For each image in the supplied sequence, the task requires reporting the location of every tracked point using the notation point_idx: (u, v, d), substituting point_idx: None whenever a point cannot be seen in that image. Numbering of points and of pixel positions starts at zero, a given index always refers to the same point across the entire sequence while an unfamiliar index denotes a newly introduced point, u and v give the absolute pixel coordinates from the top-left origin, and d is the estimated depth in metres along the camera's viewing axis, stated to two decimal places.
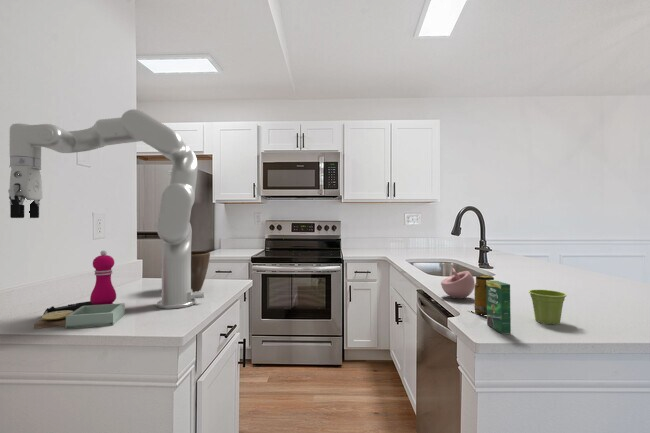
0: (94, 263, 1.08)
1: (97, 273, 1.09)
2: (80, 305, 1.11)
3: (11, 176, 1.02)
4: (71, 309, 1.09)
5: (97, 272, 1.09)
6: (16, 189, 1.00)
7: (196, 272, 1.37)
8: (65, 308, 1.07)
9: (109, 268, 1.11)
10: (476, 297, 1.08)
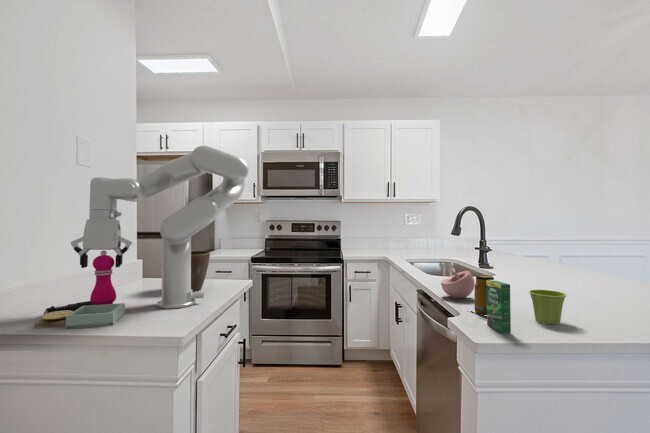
0: (94, 263, 1.08)
1: (97, 273, 1.09)
2: (80, 305, 1.11)
3: (117, 229, 1.11)
4: (71, 309, 1.09)
5: (97, 272, 1.09)
6: None
7: (196, 272, 1.37)
8: (65, 308, 1.08)
9: (109, 268, 1.11)
10: (476, 297, 1.08)
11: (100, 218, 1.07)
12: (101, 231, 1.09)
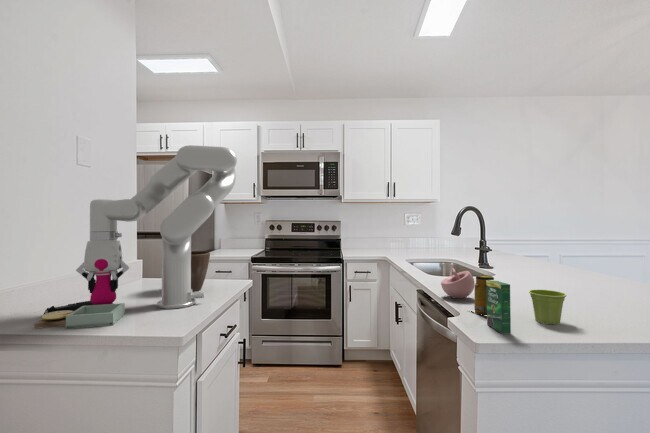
0: None
1: (97, 273, 1.09)
2: (80, 304, 1.11)
3: (117, 250, 1.11)
4: (71, 308, 1.09)
5: (97, 272, 1.09)
6: None
7: (196, 272, 1.37)
8: (65, 308, 1.08)
9: None
10: (476, 297, 1.08)
11: (101, 240, 1.08)
12: (102, 253, 1.09)
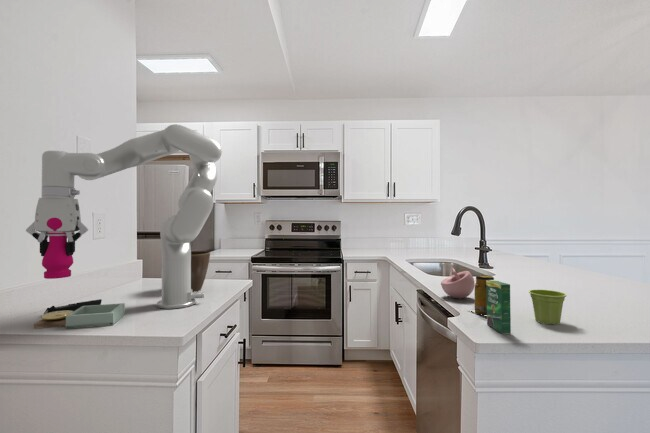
0: None
1: (50, 233, 0.96)
2: (80, 305, 1.11)
3: (74, 209, 0.98)
4: (71, 309, 1.09)
5: (50, 232, 0.96)
6: None
7: (196, 272, 1.37)
8: (65, 307, 1.08)
9: None
10: (476, 297, 1.08)
11: (53, 196, 0.95)
12: (55, 211, 0.96)
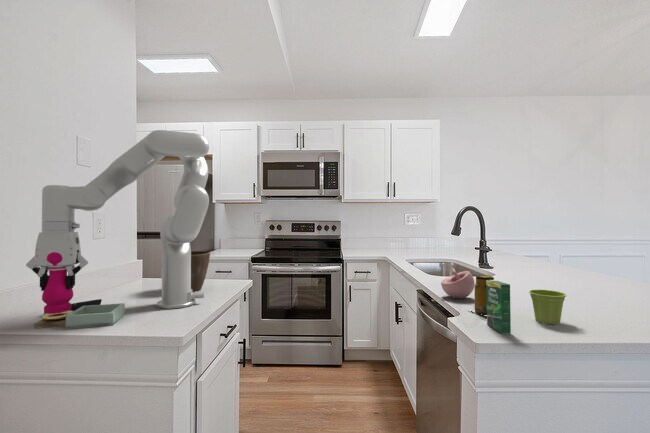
0: None
1: (50, 268, 0.96)
2: (80, 304, 1.11)
3: (74, 243, 0.98)
4: (71, 308, 1.09)
5: (50, 267, 0.96)
6: None
7: (196, 272, 1.37)
8: None
9: None
10: (476, 297, 1.08)
11: (53, 231, 0.95)
12: (55, 246, 0.96)
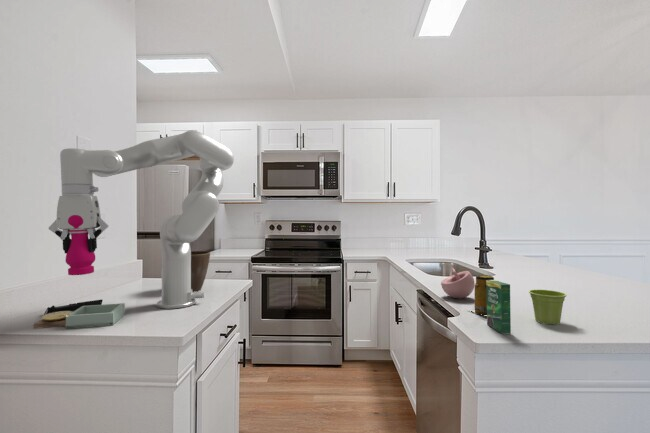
0: (68, 219, 0.97)
1: (72, 231, 0.97)
2: (81, 305, 1.11)
3: (94, 206, 0.99)
4: (71, 308, 1.09)
5: (71, 230, 0.97)
6: None
7: (196, 272, 1.37)
8: (65, 307, 1.08)
9: None
10: (476, 297, 1.08)
11: (73, 194, 0.96)
12: (76, 208, 0.97)
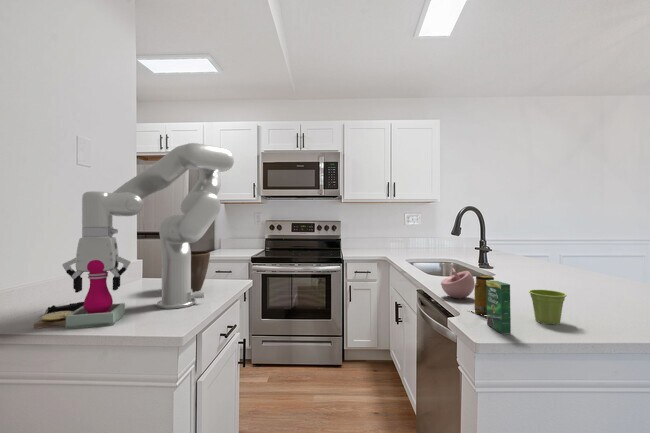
0: (87, 265, 0.97)
1: (91, 276, 0.98)
2: (81, 304, 1.11)
3: (113, 248, 1.00)
4: (72, 308, 1.09)
5: (91, 275, 0.98)
6: None
7: (196, 272, 1.37)
8: (66, 307, 1.08)
9: (104, 271, 1.00)
10: (476, 297, 1.08)
11: (94, 237, 0.97)
12: (96, 251, 0.98)
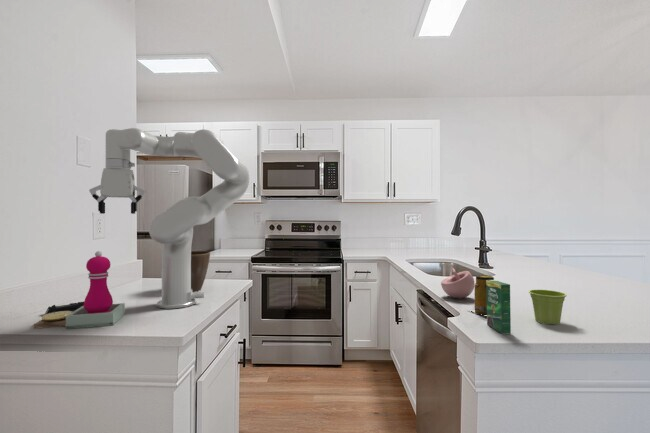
0: (88, 265, 0.98)
1: (91, 276, 0.98)
2: (81, 304, 1.12)
3: (131, 178, 1.19)
4: (72, 308, 1.10)
5: (91, 275, 0.98)
6: None
7: (196, 272, 1.37)
8: (66, 307, 1.09)
9: (104, 271, 1.00)
10: (476, 297, 1.08)
11: (116, 166, 1.16)
12: (117, 179, 1.17)
